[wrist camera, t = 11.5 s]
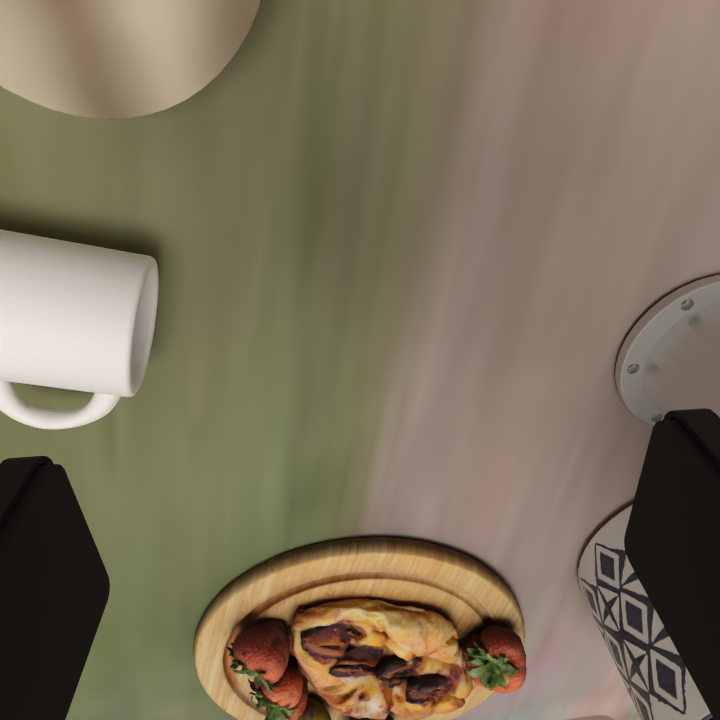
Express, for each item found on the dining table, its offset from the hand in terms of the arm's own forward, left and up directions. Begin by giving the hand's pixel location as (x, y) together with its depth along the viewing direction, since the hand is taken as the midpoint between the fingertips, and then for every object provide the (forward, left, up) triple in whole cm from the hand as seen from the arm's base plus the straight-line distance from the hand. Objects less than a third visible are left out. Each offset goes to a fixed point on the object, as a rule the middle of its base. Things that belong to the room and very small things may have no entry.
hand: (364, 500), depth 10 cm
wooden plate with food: (+1, +48, -28) cm, 56 cm away
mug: (+16, +9, -28) cm, 33 cm away
